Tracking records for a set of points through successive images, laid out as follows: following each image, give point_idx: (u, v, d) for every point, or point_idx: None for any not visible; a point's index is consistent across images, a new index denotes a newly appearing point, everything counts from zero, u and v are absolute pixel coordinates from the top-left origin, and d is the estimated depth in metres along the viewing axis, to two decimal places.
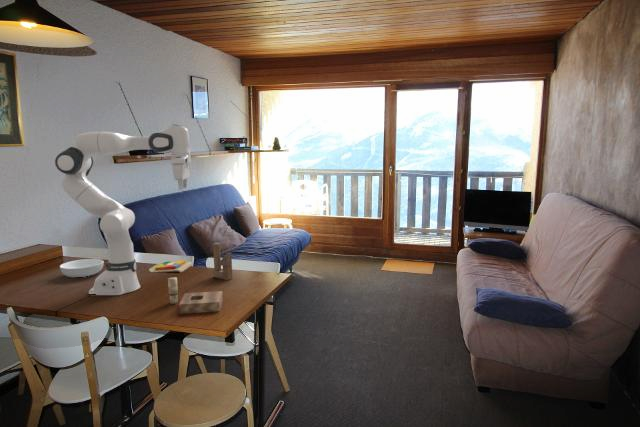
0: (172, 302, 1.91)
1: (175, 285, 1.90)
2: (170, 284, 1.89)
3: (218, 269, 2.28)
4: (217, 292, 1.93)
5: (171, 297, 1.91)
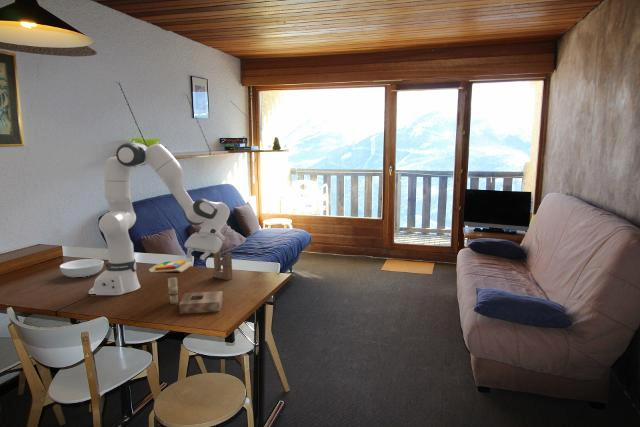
0: (172, 302, 1.91)
1: (175, 285, 1.90)
2: (170, 284, 1.89)
3: (218, 269, 2.28)
4: (217, 292, 1.93)
5: (171, 297, 1.91)
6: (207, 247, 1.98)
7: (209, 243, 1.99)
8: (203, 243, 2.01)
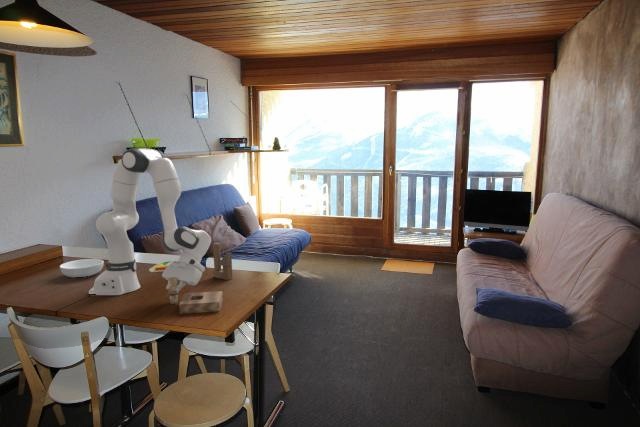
0: (172, 302, 1.91)
1: (175, 285, 1.90)
2: (170, 284, 1.89)
3: (218, 269, 2.28)
4: (217, 292, 1.93)
5: (171, 297, 1.91)
6: (185, 279, 1.89)
7: (188, 275, 1.90)
8: (182, 275, 1.92)
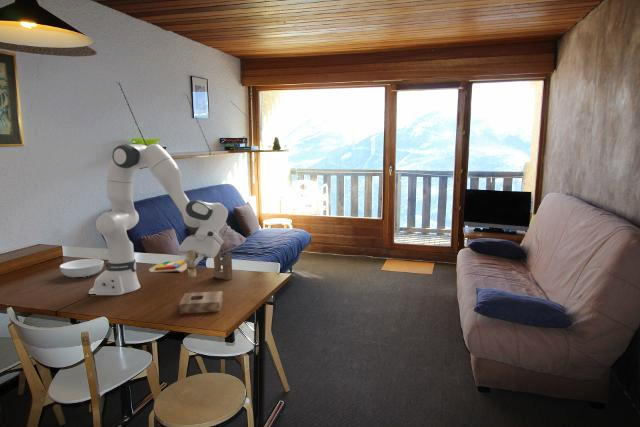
0: (190, 276, 1.84)
1: (193, 258, 1.84)
2: (188, 257, 1.83)
3: (218, 269, 2.28)
4: (217, 292, 1.93)
5: (189, 270, 1.84)
6: (204, 251, 1.83)
7: (206, 247, 1.84)
8: (200, 247, 1.85)
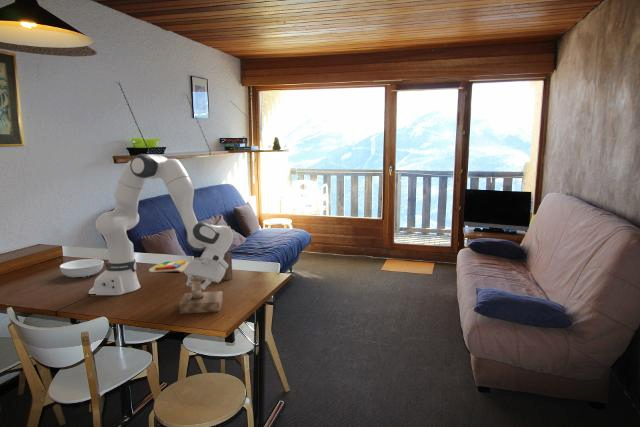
0: None
1: (199, 289, 1.85)
2: (194, 288, 1.84)
3: None
4: (217, 292, 1.93)
5: None
6: (209, 276, 1.83)
7: (211, 271, 1.84)
8: (205, 271, 1.86)
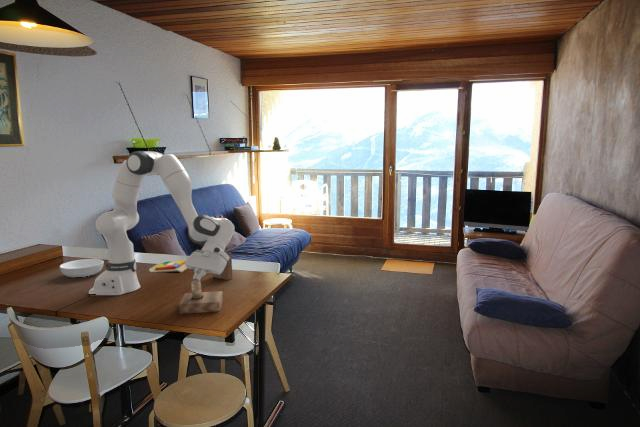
0: None
1: (199, 289, 1.85)
2: (194, 288, 1.84)
3: None
4: (217, 292, 1.93)
5: None
6: (210, 268, 1.83)
7: (212, 263, 1.84)
8: (206, 263, 1.86)
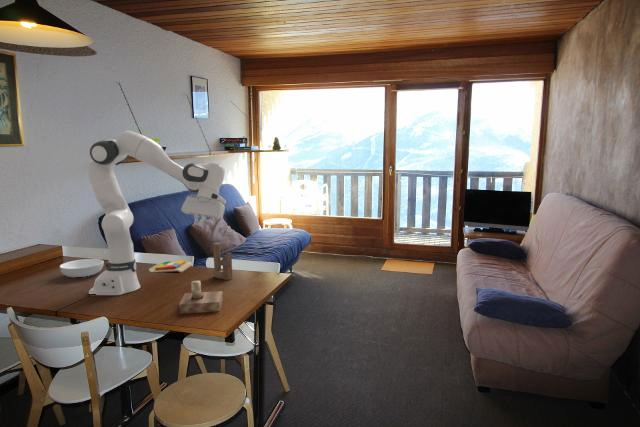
0: None
1: (199, 289, 1.85)
2: (194, 288, 1.84)
3: (218, 269, 2.28)
4: (217, 292, 1.93)
5: None
6: (211, 214, 1.93)
7: (212, 209, 1.94)
8: (205, 209, 1.95)
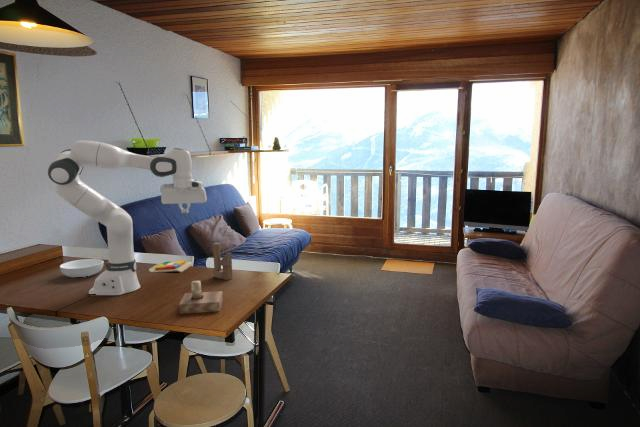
0: None
1: (199, 289, 1.85)
2: (194, 288, 1.84)
3: (218, 269, 2.28)
4: (217, 292, 1.93)
5: None
6: (197, 201, 2.03)
7: (197, 196, 2.03)
8: (189, 198, 2.02)
